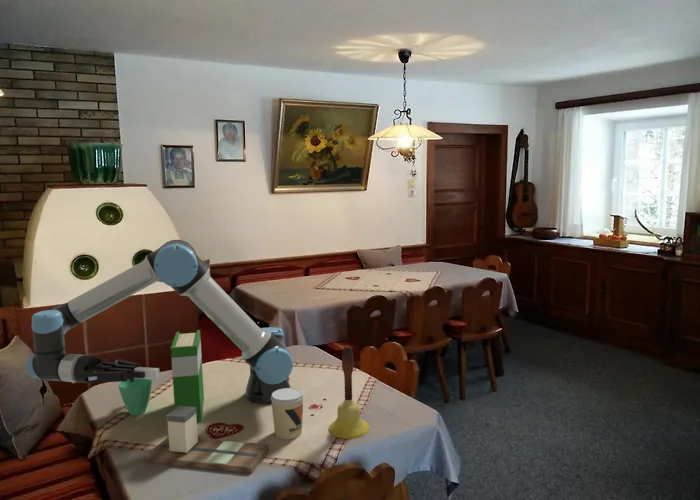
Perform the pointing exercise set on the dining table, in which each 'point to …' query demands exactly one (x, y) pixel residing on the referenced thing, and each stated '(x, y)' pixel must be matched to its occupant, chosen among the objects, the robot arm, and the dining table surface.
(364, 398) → the dining table surface
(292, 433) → the coffee cup
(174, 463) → the fader track
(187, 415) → the fader knob
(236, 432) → the dining table surface
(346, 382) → the handbell
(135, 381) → the mug
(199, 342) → the hardback book
